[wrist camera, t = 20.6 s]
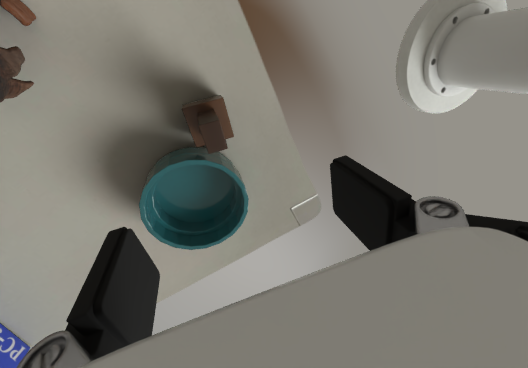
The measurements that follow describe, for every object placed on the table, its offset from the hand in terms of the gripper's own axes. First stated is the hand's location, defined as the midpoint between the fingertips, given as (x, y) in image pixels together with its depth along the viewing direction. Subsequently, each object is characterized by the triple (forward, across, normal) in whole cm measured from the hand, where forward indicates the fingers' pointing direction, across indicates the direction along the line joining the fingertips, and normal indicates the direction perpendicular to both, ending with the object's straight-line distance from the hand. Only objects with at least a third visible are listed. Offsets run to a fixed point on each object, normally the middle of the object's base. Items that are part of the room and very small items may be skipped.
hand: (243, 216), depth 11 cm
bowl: (+24, +5, +10) cm, 27 cm away
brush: (+24, 0, 0) cm, 24 cm away
